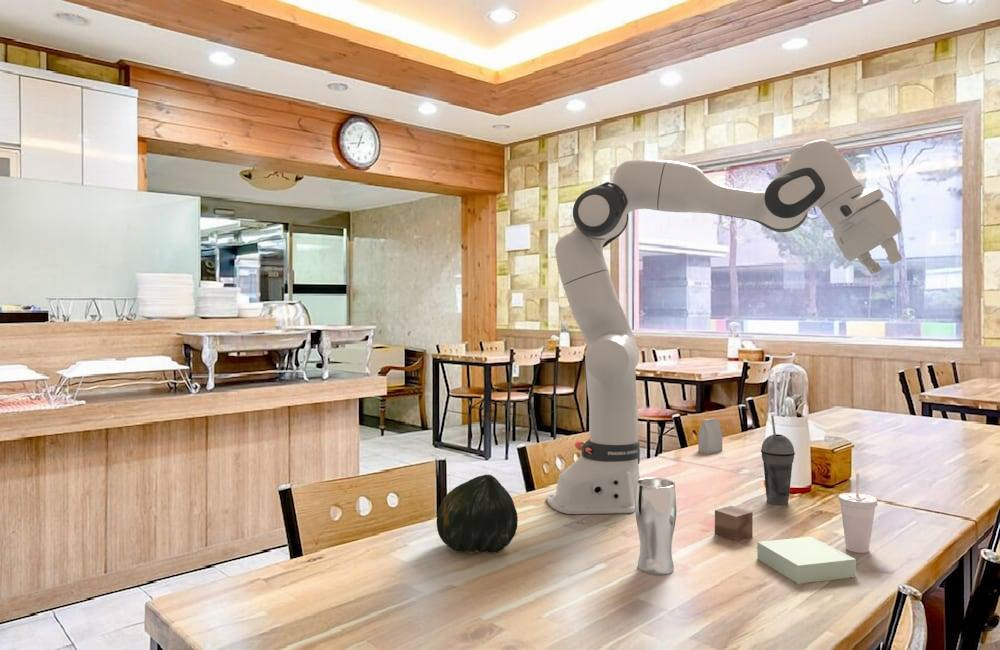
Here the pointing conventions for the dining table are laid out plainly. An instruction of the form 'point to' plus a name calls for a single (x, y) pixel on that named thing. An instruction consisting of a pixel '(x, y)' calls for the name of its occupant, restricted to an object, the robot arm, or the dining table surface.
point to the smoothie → (857, 519)
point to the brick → (733, 523)
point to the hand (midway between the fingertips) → (886, 267)
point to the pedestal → (806, 559)
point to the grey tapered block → (710, 436)
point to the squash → (477, 516)
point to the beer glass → (655, 524)
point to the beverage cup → (777, 467)
